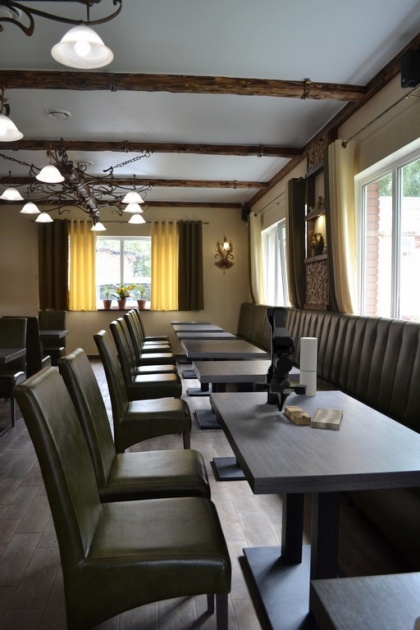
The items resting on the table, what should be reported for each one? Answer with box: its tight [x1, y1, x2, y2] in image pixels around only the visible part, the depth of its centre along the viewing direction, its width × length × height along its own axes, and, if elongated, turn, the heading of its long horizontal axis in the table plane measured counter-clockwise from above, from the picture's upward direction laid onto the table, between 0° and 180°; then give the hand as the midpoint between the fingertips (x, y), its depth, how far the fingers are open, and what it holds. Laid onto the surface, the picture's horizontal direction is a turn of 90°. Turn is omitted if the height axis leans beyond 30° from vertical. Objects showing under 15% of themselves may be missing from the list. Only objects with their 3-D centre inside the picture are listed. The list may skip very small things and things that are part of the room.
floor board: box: [310, 407, 344, 430], centre depth 165 cm, size 9×20×2 cm, turn 161°
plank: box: [283, 405, 312, 425], centre depth 167 cm, size 17×5×3 cm, turn 6°
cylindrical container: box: [299, 336, 318, 397], centre depth 208 cm, size 7×7×25 cm
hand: (280, 411), depth 173 cm, fingers closed
